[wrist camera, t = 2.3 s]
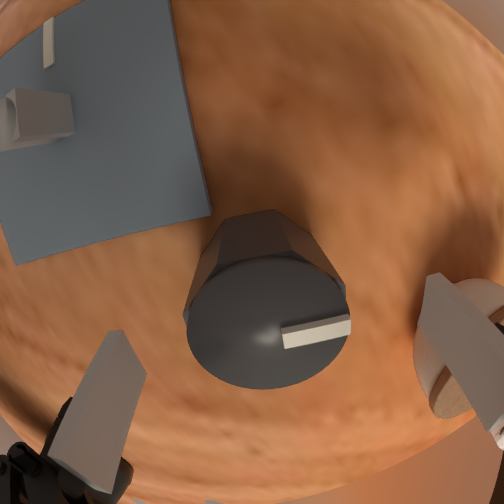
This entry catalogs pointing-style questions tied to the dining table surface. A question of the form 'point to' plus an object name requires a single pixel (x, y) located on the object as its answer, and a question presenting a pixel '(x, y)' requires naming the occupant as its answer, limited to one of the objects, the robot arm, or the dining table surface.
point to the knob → (265, 304)
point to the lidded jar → (431, 364)
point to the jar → (501, 440)
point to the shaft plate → (96, 130)
